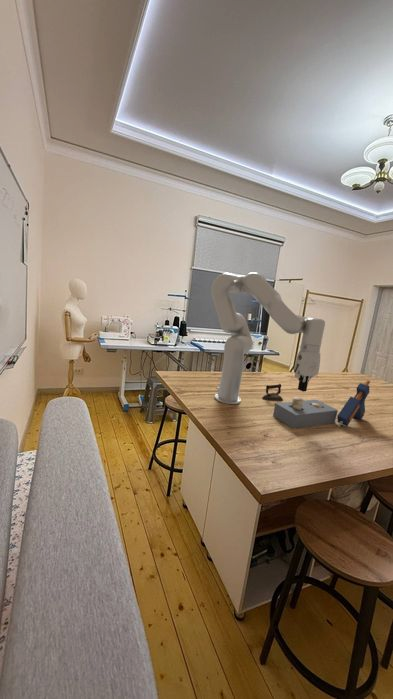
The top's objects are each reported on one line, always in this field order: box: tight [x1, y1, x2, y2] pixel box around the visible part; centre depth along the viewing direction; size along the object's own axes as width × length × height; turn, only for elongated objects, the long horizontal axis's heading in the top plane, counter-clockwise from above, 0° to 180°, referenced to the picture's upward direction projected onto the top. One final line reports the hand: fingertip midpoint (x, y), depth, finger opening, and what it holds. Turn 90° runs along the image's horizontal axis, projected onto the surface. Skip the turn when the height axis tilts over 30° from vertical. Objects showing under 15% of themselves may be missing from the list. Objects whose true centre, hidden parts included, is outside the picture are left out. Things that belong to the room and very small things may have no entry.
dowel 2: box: [312, 403, 322, 408], centre depth 130 cm, size 4×4×5 cm
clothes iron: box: [261, 383, 284, 402], centre depth 147 cm, size 7×11×10 cm, turn 119°
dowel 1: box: [291, 396, 305, 411], centre depth 123 cm, size 4×4×5 cm
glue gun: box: [336, 379, 371, 428], centre depth 133 cm, size 6×31×15 cm
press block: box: [272, 399, 339, 430], centre depth 127 cm, size 12×26×6 cm, turn 118°
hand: (301, 390), depth 122 cm, fingers closed
